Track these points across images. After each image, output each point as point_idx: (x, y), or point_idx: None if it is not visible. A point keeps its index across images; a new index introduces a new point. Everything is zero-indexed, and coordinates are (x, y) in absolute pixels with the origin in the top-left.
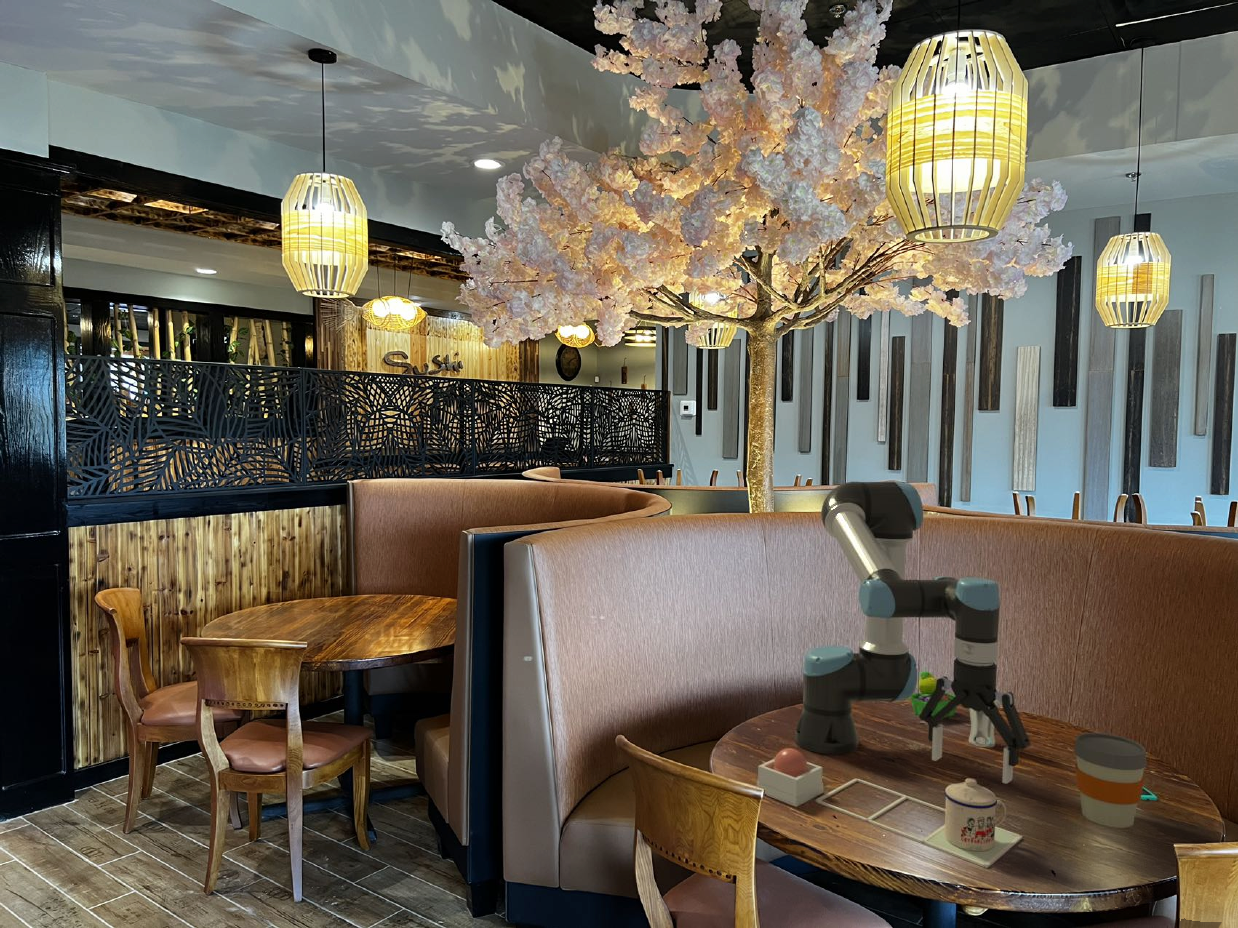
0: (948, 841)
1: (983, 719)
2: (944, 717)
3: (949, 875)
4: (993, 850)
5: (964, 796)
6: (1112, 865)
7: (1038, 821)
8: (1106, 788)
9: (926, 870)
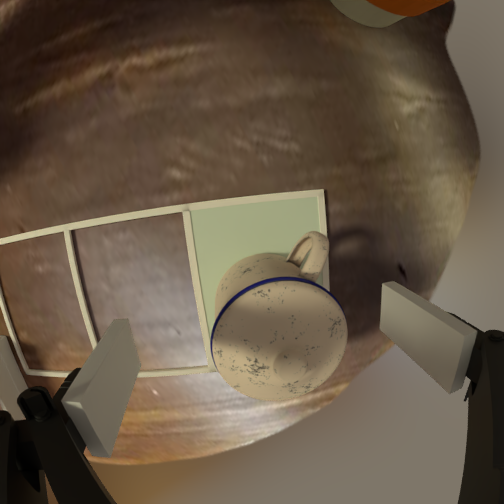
0: None
1: None
2: (74, 444)
3: (298, 408)
4: None
5: (291, 391)
6: (444, 168)
7: (304, 87)
8: (424, 7)
9: (268, 422)
